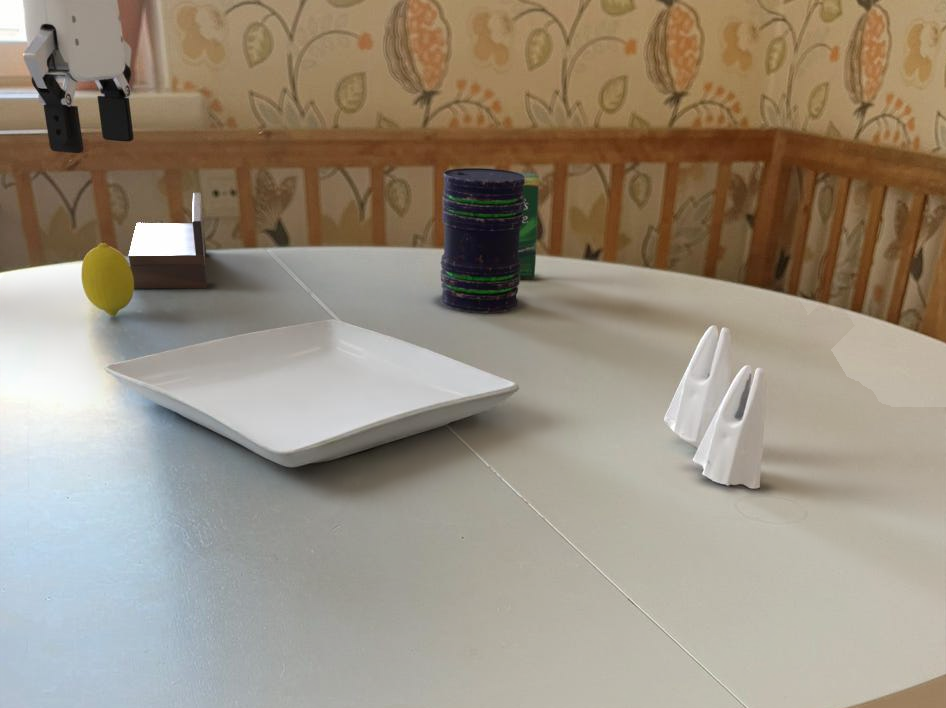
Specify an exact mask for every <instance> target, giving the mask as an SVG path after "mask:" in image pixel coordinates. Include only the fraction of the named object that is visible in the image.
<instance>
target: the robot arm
mask: <svg viewBox="0 0 946 708" xmlns="http://www.w3.org/2000/svg"><path fill="white" fill-rule="evenodd" d="M22 6H23V16H24V27H25V34H26V36H25V37H26V44H27V45H26V46H27V48H25V50H24V52H23V56H22V57H23V61H24V63H25V65H26V67H27V70H28V72H29V74H30V77H31V84H32V86H33V87H34V89H35V90H36V92H37V94H38V96H37V97H38V102H39V103H40V105H43V112H44V119H45V124H46V131H47V137H48V142H49V143H48V144H49V149H50V150H51V151H52V152H55V153H57V152H58V153H70V154H81V153H83V152H84V143H83V135H82V127H81V120H80V115H79V108H78V105H73V102H74V97H75V93H76V90H77V87H78V82H79V83H87V82H94V83H95V84H96V86H97V88H98V90H99V92H100V93H101V95H97V105H98V110H99V119H100V128H101V134H102V139H104V140H105V141H116V142H117V141H118V142H133V140H134V129H133V121H132V113H131V103H130V97H131V95H132V89H131V87H130V81H131V77H132V70H131V63H132V62H131V60H132V47H131V45H130V44H128V42H127V41H126V40H124V34H123V28H122V27H123V26H122V21H121V15H120V14H121V13H120V8H119V2H118V0H22ZM60 84H62V87H61V85H60Z"/></svg>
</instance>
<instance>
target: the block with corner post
mask: <svg viewBox="0 0 946 708" xmlns="http://www.w3.org/2000/svg"><path fill="white" fill-rule="evenodd" d="M202 202H203V201H202V193H201V192H193V193H192V223H191V222H190V223H185V222H184V223H181V222H179V223H176V222H175V223H170V222H169V223H167V222H166V223H165V222H163V223H161V222H157V223H155V222H154V223H148V222H147V223H145V222H144V223H143V222H142V223H141V222H137V223H136V226H135V230H134V233H133V237H132V240H131V245H130V250H129V253H128V263H129V265H130V268H131V271H132V274H133V279H134V290H135V289H136V290H137V289H140V290H141V289H142V290H143V289H144V290H145V289H146V290H147V289H207V288H208V282H207V281H208V280H207V271H206V269H207V268H206V256H207V246H206V236H205V226H204V213H203V203H202Z"/></svg>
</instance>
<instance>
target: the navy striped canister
mask: <svg viewBox="0 0 946 708" xmlns="http://www.w3.org/2000/svg"><path fill="white" fill-rule="evenodd" d="M523 174H524V173H520V172H517V171H511V170H506V169H497V168H485V167H484V168H483V167H480V168H479V167H465V168H463V167H462V168H453V169H448V170H446V171H444V172H443V181H444V185H443V195H442V199H441V200H442V201H441V202H442V207H443V208H442V214H441V217H442V223H443V225H444V236H443V238H444V239H443V240H444V241H443V246H444V247H443V254H442V256H441V259H440V264H441V270H440V282H441V286H440V287H441V291H442V294H441V297H440V303H441V304H442V305H443V306H445V307H447V308H449V309H451V310H454V311H455V310H456V311H460V312H466V313H473V314H474V313H476V314H477V313H478V314H494V313H503V312H509V311H512V310H514V309H515V308H516V307H518V298H517V295H518V293H519V292H518V291H519V287H518V286H519V285H520V280H521V279H520V274H519V271H520V268H521V265H520V259H519V258H518V251H519V234H520V227H521V226H522V221H523V212H522V211H523V210H524V199H523V197H524V189H523V185H524V182H525V176H524V175H523Z"/></svg>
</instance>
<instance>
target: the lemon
mask: <svg viewBox="0 0 946 708" xmlns="http://www.w3.org/2000/svg"><path fill="white" fill-rule="evenodd" d="M80 276H81V285H82V289H83V291H84V294H85V296H86V297H87V299H88V301H89V302H90V303H91V304H92V305H93V306H95V308H97V309H99V310H102V311H104V312H105V313H106V314H107V315H109V316H111V317H115V316H116V315H117V314H118V313H119V312H120V311H121V310H122V309H125V308H126V307H127V306H128V305H129V304H130V302H131V301H132V299H133V297H134V293H135V292H134V291H135V289H134V279H133V274H132V271H131V268H130V262H129V260H128V259H127V258H126V256H125V255H124V254H123V253H121V252H120V251H119V250H118V249H116V248H114V247H112V246H109V245H108V244H107V243H105V242H100V243H99V244H98V245H97V246H95V247H93V248H92V249H90V250H89V251H88V252H87V253H86V254H85V256H84V258H83V260H82V265H81V275H80Z"/></svg>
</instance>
